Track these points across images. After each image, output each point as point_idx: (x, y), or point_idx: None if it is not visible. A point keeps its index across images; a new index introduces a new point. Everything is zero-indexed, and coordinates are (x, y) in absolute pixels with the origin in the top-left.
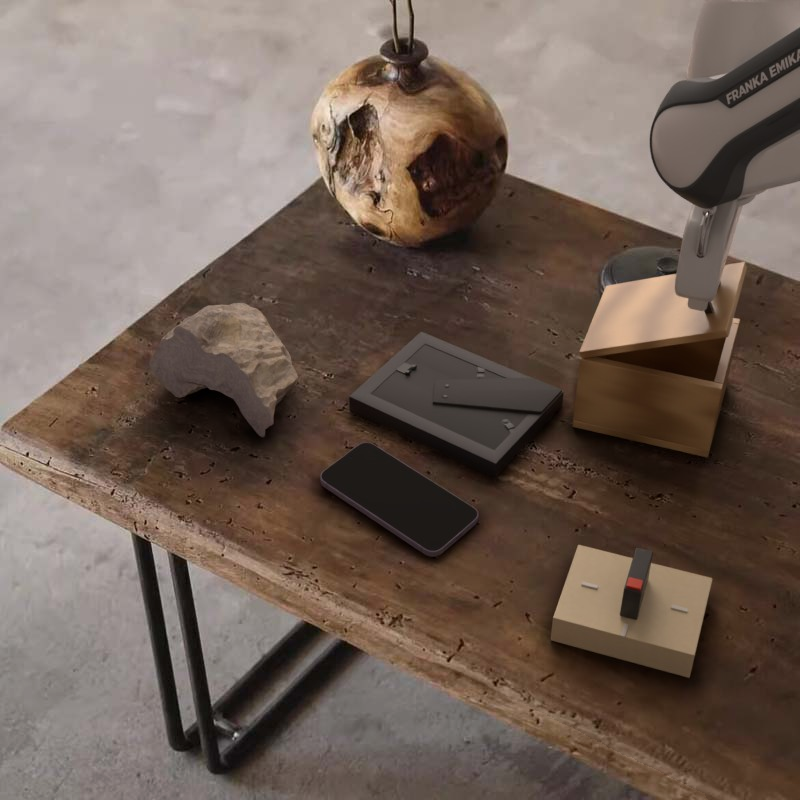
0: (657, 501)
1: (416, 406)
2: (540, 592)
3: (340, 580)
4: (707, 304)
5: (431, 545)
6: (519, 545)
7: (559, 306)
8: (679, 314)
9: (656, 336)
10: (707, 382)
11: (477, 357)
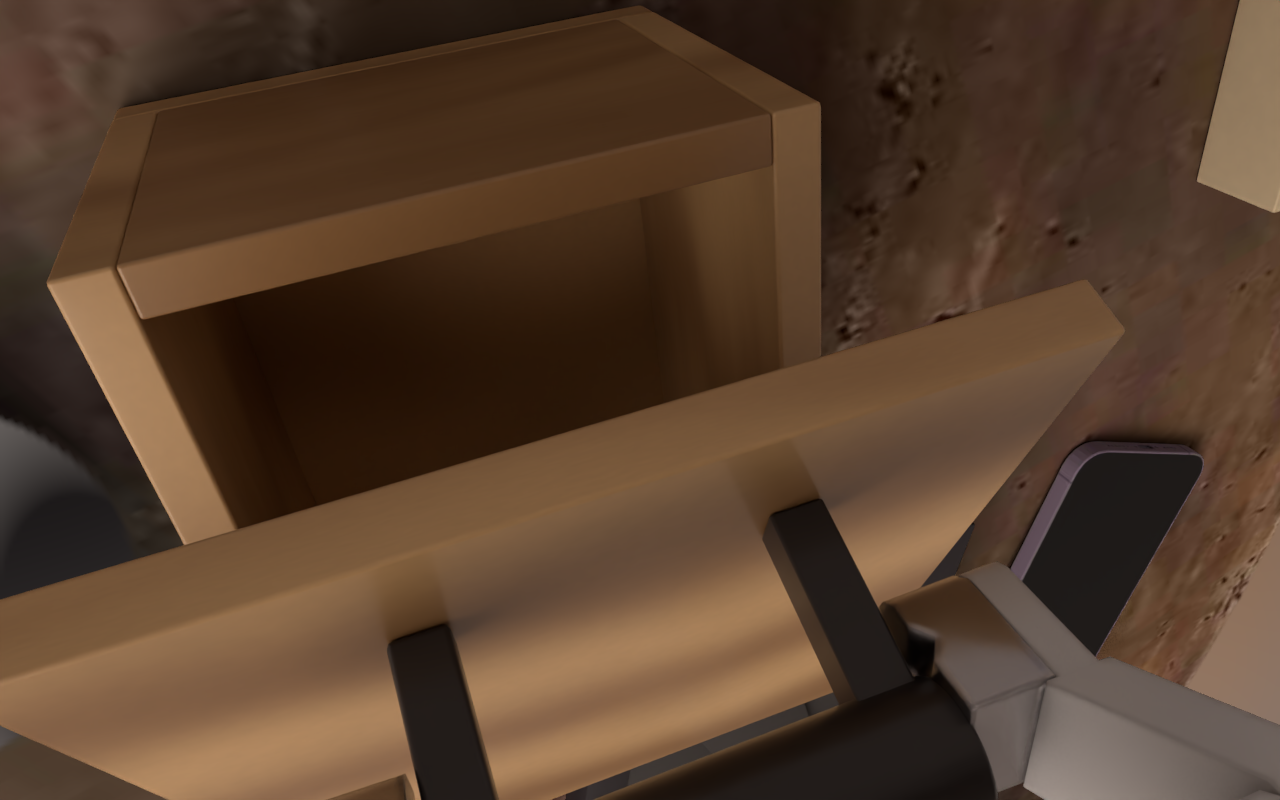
0: (915, 85)
1: None
2: (1271, 214)
3: (1250, 533)
4: (1028, 593)
5: (1190, 473)
6: (1139, 330)
7: (120, 796)
8: (736, 610)
9: (900, 581)
10: (794, 194)
11: (598, 783)
